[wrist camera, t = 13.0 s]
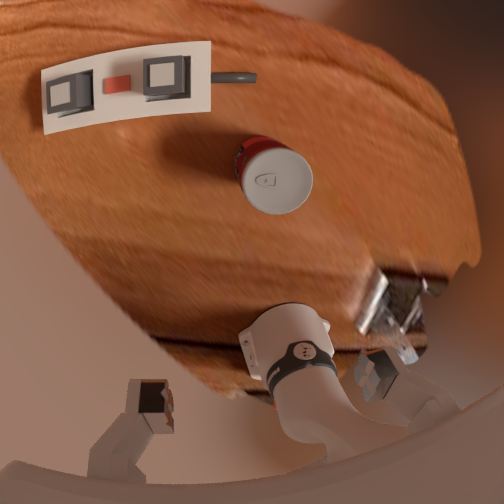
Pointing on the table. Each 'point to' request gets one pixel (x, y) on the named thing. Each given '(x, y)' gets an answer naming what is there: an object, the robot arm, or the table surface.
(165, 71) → the plug
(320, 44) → the table surface
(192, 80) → the pdu strip
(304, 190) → the canned food
